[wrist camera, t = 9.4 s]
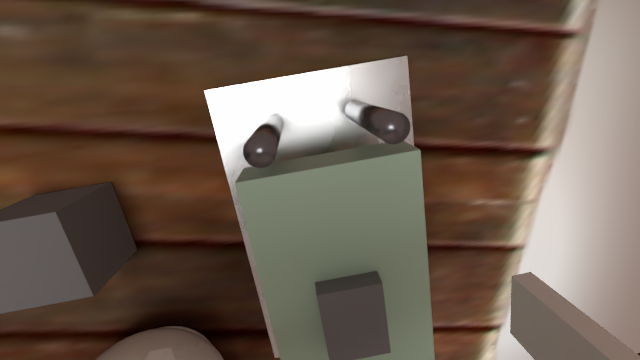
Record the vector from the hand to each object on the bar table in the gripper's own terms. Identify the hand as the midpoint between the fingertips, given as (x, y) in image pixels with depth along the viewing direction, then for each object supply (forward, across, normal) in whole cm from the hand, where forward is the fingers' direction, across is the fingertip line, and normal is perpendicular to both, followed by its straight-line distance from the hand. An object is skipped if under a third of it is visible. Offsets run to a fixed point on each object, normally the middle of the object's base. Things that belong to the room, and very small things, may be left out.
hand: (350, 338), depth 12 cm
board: (+6, 0, 0) cm, 6 cm away
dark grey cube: (+11, -15, +3) cm, 19 cm away
